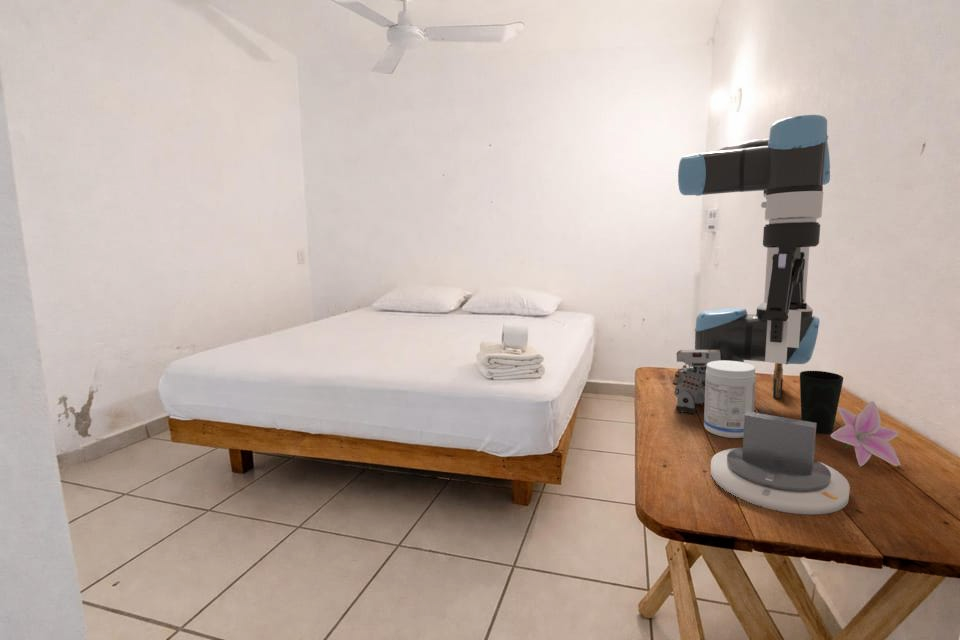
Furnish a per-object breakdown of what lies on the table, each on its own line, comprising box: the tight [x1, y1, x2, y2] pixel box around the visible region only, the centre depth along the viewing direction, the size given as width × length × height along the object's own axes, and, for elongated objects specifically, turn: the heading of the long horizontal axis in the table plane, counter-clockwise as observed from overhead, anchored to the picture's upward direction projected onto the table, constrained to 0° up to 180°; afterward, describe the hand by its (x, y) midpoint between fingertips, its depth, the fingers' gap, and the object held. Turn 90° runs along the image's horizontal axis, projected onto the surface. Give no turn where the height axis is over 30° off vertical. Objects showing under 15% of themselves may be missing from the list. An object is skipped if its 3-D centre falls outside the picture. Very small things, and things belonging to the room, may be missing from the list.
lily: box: [830, 400, 901, 467], centre depth 92 cm, size 12×12×10 cm
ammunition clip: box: [772, 363, 784, 400], centre depth 130 cm, size 11×2×12 cm, turn 150°
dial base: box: [710, 447, 851, 516], centre depth 83 cm, size 20×20×2 cm
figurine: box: [672, 349, 722, 415], centre depth 119 cm, size 9×12×15 cm
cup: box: [799, 370, 844, 435], centre depth 105 cm, size 8×8×12 cm
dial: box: [727, 411, 831, 492], centre depth 82 cm, size 15×15×9 cm
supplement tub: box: [703, 360, 757, 439], centre depth 105 cm, size 10×10×15 cm
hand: (782, 354), depth 80 cm, fingers open, 13 cm apart
